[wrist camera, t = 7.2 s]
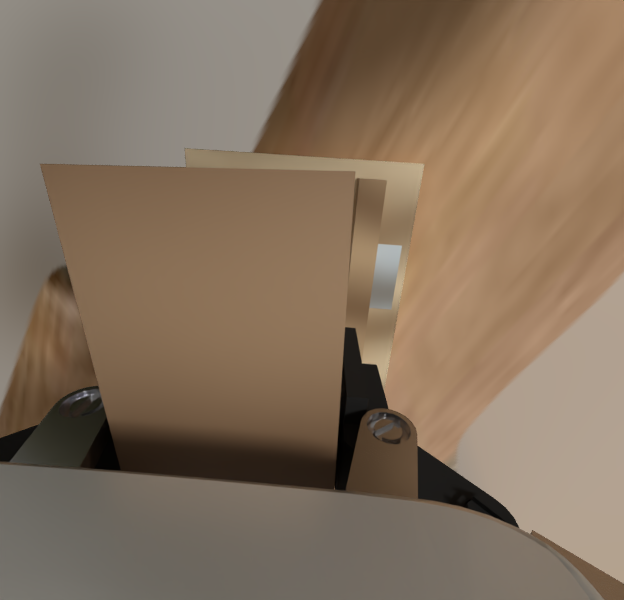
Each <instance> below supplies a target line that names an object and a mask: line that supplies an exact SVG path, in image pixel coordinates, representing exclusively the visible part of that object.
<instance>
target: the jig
mask: <svg viewBox="0 0 624 600" xmlns="http://www.w3.org/2000/svg"><path fill="white" fill-rule="evenodd" d="M185 159H186V167H195V168H237V169H280V170H322V171H355V186H354V201H353V216H352V231H351V246H350V261H349V276H348V291H347V306H346V321H345V327H350V328H356V333H357V338H358V344H359V349H360V355H361V360H362V363H364V364H376V365H377V367H378V371H379V375H380V378H381V382H382V386H383V390H384V389H385V383H386V377H387V372H388V366H389V360H390V355H391V349H392V343H393V338H394V332H395V327H396V321H397V315H398V310H399V304H400V298H401V293H402V287H403V282H404V276H405V270H406V265H407V259H408V253H409V248H410V242H411V237H412V231H413V225H414V220H415V214H416V208H417V203H418V197H419V191H420V186H421V180H422V175H423V169H424V164H417V163H402V162H387V161H371V160H356V159H341V158H326V157H310V156H295V155H280V154H265V153H249V152H234V151H219V150H203V149H188V148H187V149H186V148H185Z"/></svg>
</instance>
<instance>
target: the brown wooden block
mask: <svg viewBox="0 0 624 600" xmlns="http://www.w3.org/2000/svg"><path fill="white" fill-rule="evenodd" d="M40 165H41V169H42V173H43V177H44V181H45V184H46V188H47V192H48V196H49V200H50V204H51V207H52V211H53V215H54V218H55V222H56V226H57V230H58V234H59V238H60V242H61V245H62V249H63V253H64V257H65V261H66V264H67V268H68V272H69V276H70V279H71V283H72V287H73V291H74V295H75V298H76V302H77V306H78V310H79V314H80V317H81V321H82V325H83V329H84V333H85V336H86V340H87V344H88V348H89V352H90V355H91V359H92V363H93V367H94V371H95V374H96V378H97V382H98V386H99V389H100V393H101V397H102V401H103V405H104V408H105V412H106V416H107V420H108V424H109V427H110V431H111V435H112V439H113V443H114V446H115V450H116V454H117V458H118V462H119V465H120V469H121V471H128V472H140V473H152V474H164V475H176V476H188V477H200V478H211V479H223V480H235V481H246V482H257V483H268V484H279V485H290V486H301V487H312V488H323V489H334V486H335V471H336V456H337V441H338V426H339V411H340V396H341V381H342V366H343V351H344V336H345V321H346V306H347V291H348V276H349V261H350V246H351V231H352V216H353V201H354V186H355V171H322V170H280V169H237V168H195V167H150V166H110V165H109V166H108V165H68V164H67V165H65V164H40Z"/></svg>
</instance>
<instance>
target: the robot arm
mask: <svg viewBox="0 0 624 600" xmlns="http://www.w3.org/2000/svg"><path fill="white" fill-rule="evenodd" d="M0 600H624V584H623V583H622V582H620V581H618V580H616V579H615V578H613V577H611V576H610V575H608V574H606V573H604V572H603V571H601V570H599V569H598V568H596V567H594V566H593V565H591V564H589V563H587V562H586V561H584V560H582V559H581V558H579V557H577V556H575V555H574V554H572V553H570V552H569V551H567V550H565V549H564V548H562V547H560V546H558V545H556V544H555V543H554V542H552V541H550V540H548V539H547V538H545V537H543V536H542V535H540V534H538V533H536V532H535V531H533V530H532V532H531V534H529V533H527V532H525V531H523V530H521V529H520V528H519V527H518V524H517V523H516V521H515V519H514V517H513V516H512V515H511V514H510V512H509V511H508V510H507V509H506V508H505V507H504V506H503V505H502V504H501V503H499V502H498V501H497V500H496V499H494V498H493V497H491V496H490V495H489V494H487V493H486V492H484V491H482V490H481V489H480V488H478V487H477V486H475V485H474V484H472V483H471V482H469V481H468V480H466V479H465V478H464V477H462V476H461V475H459V474H458V473H456V472H455V471H454V470H452V469H451V468H449V467H448V466H446V465H445V464H443V463H442V462H440V461H439V460H438V459H436V458H435V457H433V456H432V455H430V454H429V453H427V452H426V451H424V450H423V449H422V448H420V447H419V446H417V431H416V428H415V426H414V425H413V423H412V422H411V421H410V420H409V419H408V418H407V417H406V416H404V415H402V414H401V413H399V412H396V411H393V410H390V409H388V405H387V401H386V398H385V394H384V390H383V386H382V382H381V378H380V375H379V371H378V367H377V365H376V364H364V363H362V360H361V355H360V349H359V344H358V338H357V333H356V328H350V327H345V336H344V351H343V366H342V381H341V396H340V411H339V426H338V441H337V456H336V471H335V490H334V489H323V488H312V487H301V486H290V485H279V484H268V483H257V482H246V481H235V480H223V479H211V478H200V477H188V476H176V475H164V474H152V473H140V472H128V471H121V469H120V465H119V462H118V458H117V454H116V450H115V446H114V443H113V439H112V435H111V431H110V427H109V424H108V420H107V416H106V412H105V408H104V405H103V401H102V397H101V393H100V389H99V386H93V387H87V388H83V389H80V390H77V391H75V392H72V393H70V394H68V395H66V396H65V397H63V398H62V399H60V400H59V401H58V402H57V403H56V404H55V405H54V406H53V407H52V409H51V410H50V411H49V412H48V414H47V415H46V416H45V418H44V419H43V420H42V421H41V423H40V424H39V425H36V426H33V427H30V428H28V429H25V430H22V431H19V432H16V433H13V434H11V435H8V436H5V437H2V438H0Z"/></svg>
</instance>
